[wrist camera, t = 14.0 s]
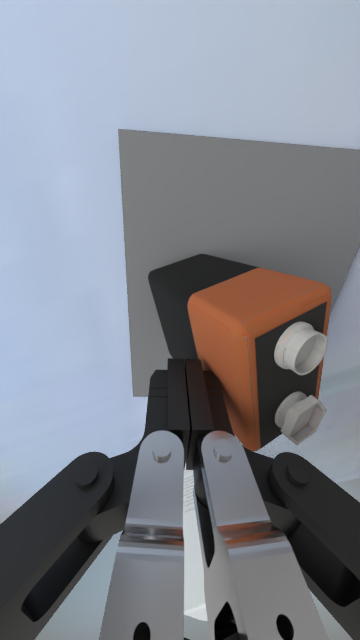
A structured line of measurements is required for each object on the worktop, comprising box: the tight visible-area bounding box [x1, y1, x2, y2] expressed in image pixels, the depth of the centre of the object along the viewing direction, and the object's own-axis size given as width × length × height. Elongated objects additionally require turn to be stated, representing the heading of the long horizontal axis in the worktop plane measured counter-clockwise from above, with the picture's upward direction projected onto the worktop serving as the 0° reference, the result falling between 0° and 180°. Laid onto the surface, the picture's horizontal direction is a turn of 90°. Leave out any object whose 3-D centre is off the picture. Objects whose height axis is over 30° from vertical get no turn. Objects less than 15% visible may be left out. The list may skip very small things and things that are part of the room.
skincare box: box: [183, 463, 208, 621], centre depth 23 cm, size 6×4×12 cm
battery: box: [148, 254, 331, 451], centre depth 12 cm, size 4×7×10 cm, turn 12°
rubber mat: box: [118, 129, 360, 397], centre depth 18 cm, size 20×16×1 cm
